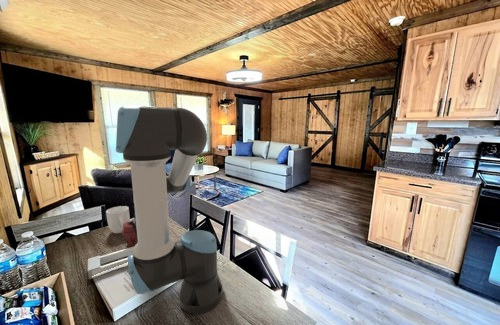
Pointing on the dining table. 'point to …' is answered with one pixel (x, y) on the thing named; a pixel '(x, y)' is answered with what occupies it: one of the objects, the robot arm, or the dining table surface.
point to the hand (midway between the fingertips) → (147, 250)
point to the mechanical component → (129, 234)
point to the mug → (117, 218)
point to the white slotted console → (98, 260)
